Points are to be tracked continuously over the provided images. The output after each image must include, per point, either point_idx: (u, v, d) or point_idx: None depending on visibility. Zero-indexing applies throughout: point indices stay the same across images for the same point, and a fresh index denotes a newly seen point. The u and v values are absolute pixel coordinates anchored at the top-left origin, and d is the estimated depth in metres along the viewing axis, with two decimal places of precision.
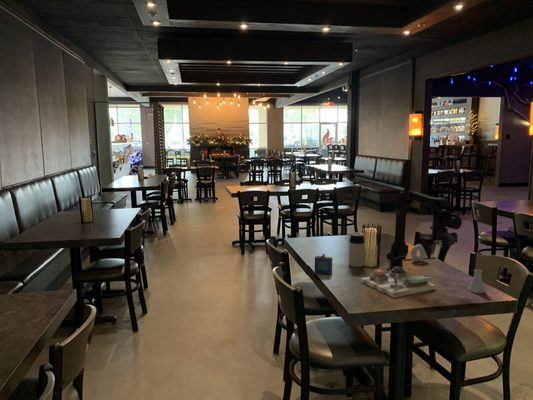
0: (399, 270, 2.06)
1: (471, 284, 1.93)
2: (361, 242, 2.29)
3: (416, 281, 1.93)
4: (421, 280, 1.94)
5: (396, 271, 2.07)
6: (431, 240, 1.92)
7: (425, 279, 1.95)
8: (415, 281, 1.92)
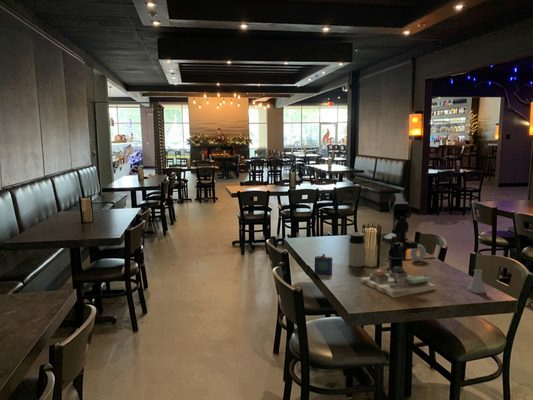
0: (399, 270, 2.06)
1: (471, 284, 1.93)
2: (361, 242, 2.29)
3: (416, 281, 1.93)
4: (421, 280, 1.94)
5: (396, 271, 2.07)
6: None
7: (425, 279, 1.95)
8: (415, 281, 1.92)
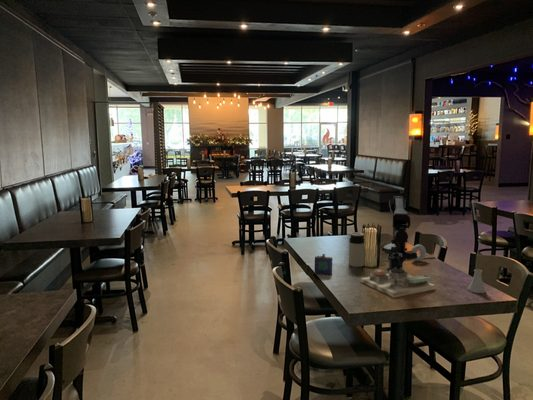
0: (399, 271, 2.06)
1: (471, 284, 1.93)
2: (361, 242, 2.29)
3: (416, 281, 1.93)
4: (421, 280, 1.94)
5: (396, 272, 2.07)
6: None
7: (425, 279, 1.95)
8: (415, 281, 1.92)
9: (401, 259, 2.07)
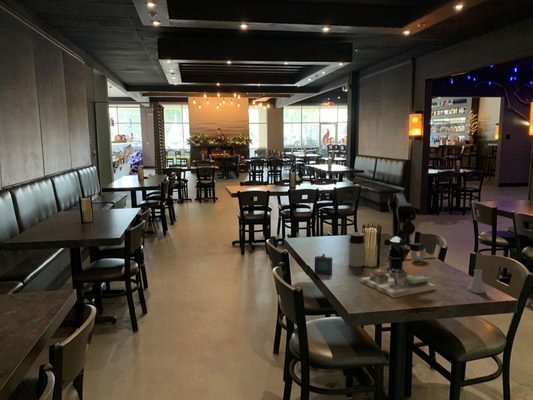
0: None
1: (471, 284, 1.93)
2: (361, 242, 2.29)
3: (416, 281, 1.93)
4: (421, 280, 1.94)
5: None
6: (388, 241, 2.07)
7: (425, 279, 1.95)
8: (415, 281, 1.92)
9: (406, 252, 2.04)
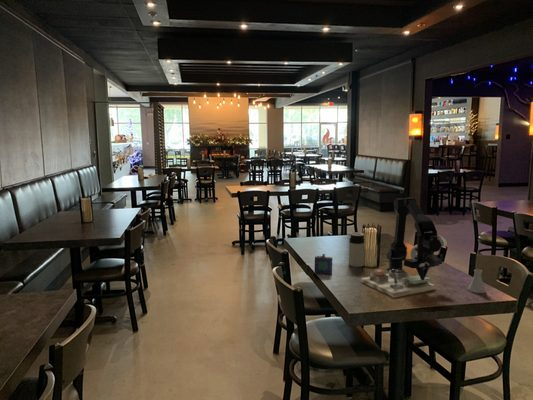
0: None
1: (471, 284, 1.93)
2: (361, 242, 2.29)
3: (416, 282, 1.93)
4: (421, 281, 1.94)
5: None
6: (417, 262, 1.88)
7: (425, 280, 1.95)
8: (415, 282, 1.92)
9: None
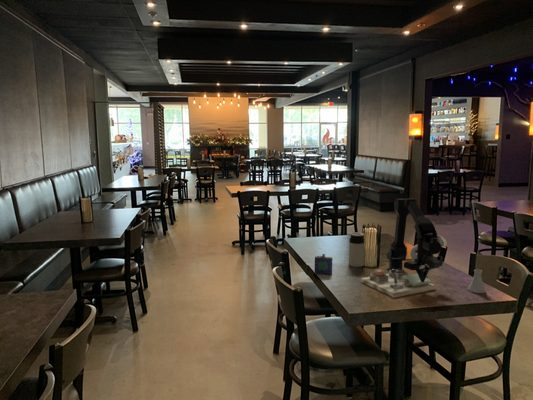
0: None
1: (471, 284, 1.93)
2: (361, 242, 2.29)
3: (416, 284, 1.93)
4: (421, 283, 1.94)
5: None
6: (417, 265, 1.88)
7: (425, 282, 1.95)
8: (415, 284, 1.93)
9: None
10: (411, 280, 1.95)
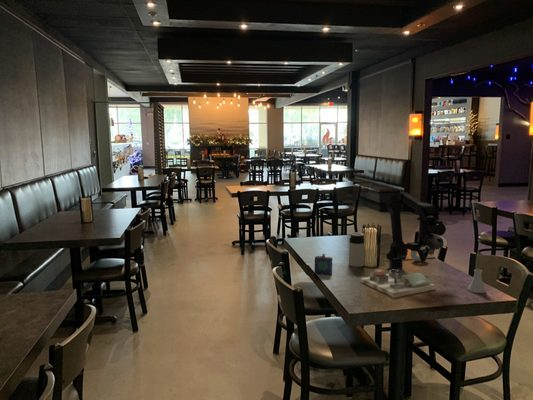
0: None
1: (471, 284, 1.93)
2: (361, 242, 2.29)
3: (416, 285, 1.93)
4: (421, 284, 1.94)
5: None
6: (418, 246, 1.97)
7: (425, 283, 1.95)
8: (415, 285, 1.93)
9: None
10: (411, 280, 1.95)
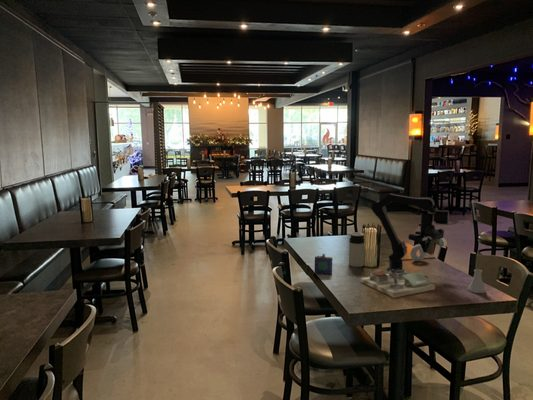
0: None
1: (471, 284, 1.93)
2: (361, 242, 2.29)
3: (416, 285, 1.93)
4: (421, 284, 1.94)
5: None
6: (420, 236, 2.09)
7: (425, 283, 1.95)
8: (415, 285, 1.93)
9: None
10: (411, 280, 1.95)
